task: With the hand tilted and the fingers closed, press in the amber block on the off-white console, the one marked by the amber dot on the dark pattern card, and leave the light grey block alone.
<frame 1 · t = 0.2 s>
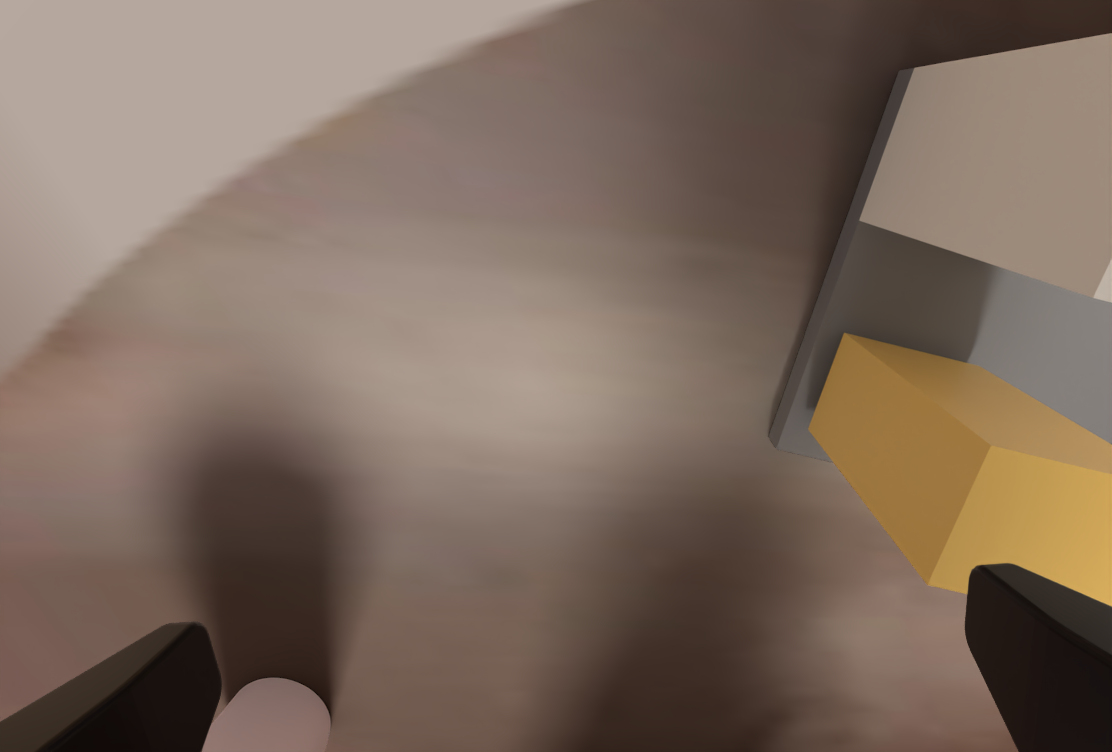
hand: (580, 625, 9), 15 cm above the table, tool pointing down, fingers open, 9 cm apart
button console: (1108, 319, 23), on the table
amber block: (958, 454, 18), point 5 cm above the table, slide at 0.0 cm
smoothie: (282, 715, 28), on the table
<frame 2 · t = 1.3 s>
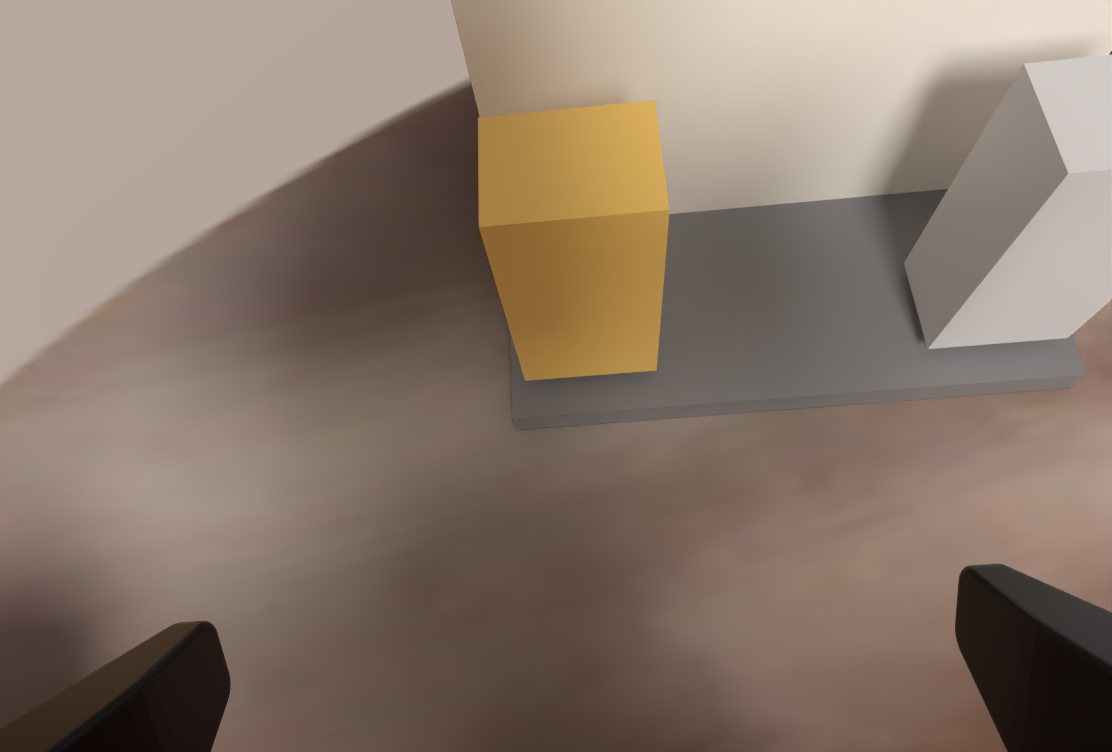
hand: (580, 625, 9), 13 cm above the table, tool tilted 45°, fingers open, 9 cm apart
button console: (757, 247, 26), on the table
light grey block: (1048, 221, 20), point 5 cm above the table, slide at 0.0 cm
amber block: (580, 262, 20), point 5 cm above the table, slide at 0.0 cm
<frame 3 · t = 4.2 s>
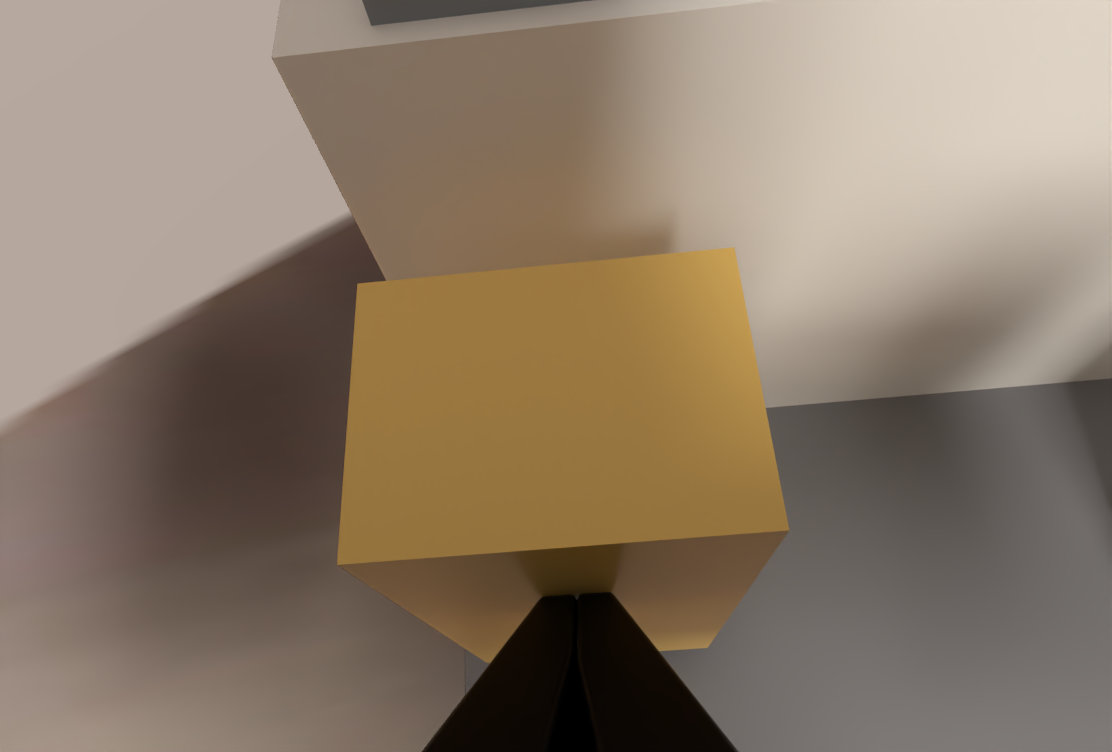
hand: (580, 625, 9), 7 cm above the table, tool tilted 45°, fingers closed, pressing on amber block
button console: (862, 460, 17), on the table
amber block: (576, 511, 11), point 6 cm above the table, slide at 1.2 cm, touching gripper
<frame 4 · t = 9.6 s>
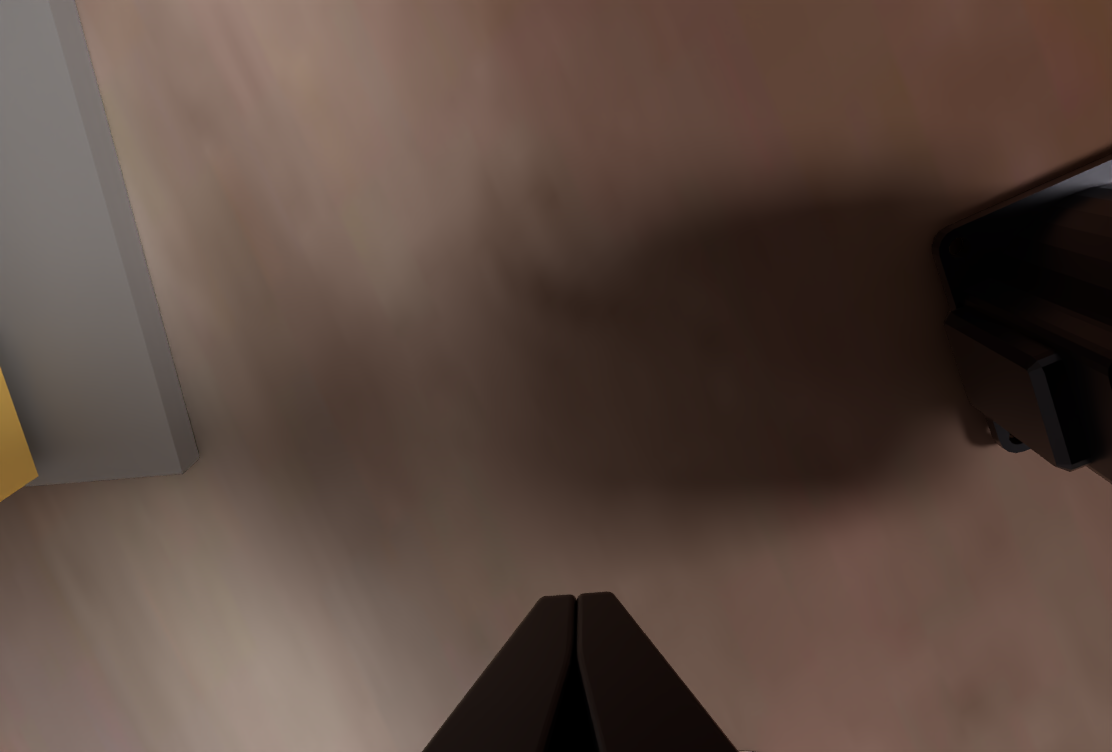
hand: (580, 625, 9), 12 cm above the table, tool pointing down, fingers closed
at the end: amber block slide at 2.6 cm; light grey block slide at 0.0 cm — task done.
